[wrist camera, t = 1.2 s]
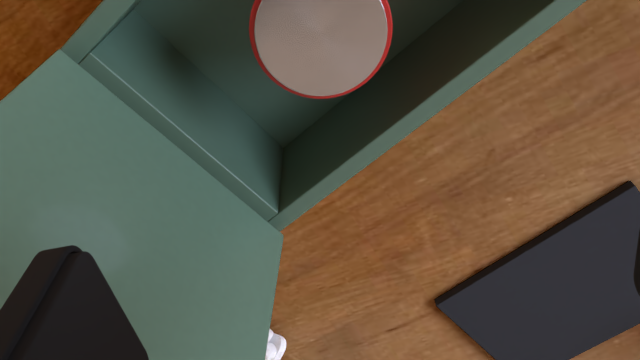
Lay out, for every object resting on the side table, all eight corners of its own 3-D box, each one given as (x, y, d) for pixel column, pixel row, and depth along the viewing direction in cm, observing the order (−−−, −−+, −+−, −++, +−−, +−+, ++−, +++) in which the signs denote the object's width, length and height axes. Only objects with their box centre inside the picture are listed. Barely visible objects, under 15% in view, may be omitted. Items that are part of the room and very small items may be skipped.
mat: (629, 180, 32) (635, 185, 31) (702, 282, 36) (707, 289, 36) (434, 299, 37) (435, 306, 36) (519, 376, 41) (521, 383, 41)
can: (322, -101, 23) (327, -78, 17) (394, -11, 25) (422, 39, 19) (239, -19, 25) (217, 30, 19) (314, 60, 27) (316, 126, 21)
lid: (-559, 598, 6) (-562, 611, 7) (203, 774, 11) (178, 777, 11) (59, 47, 20) (47, 61, 20) (284, 235, 24) (271, 243, 25)
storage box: (368, -283, 20) (391, -328, 15) (526, -40, 25) (591, -3, 19) (113, 2, 26) (58, 51, 20) (283, 158, 31) (278, 233, 25)
